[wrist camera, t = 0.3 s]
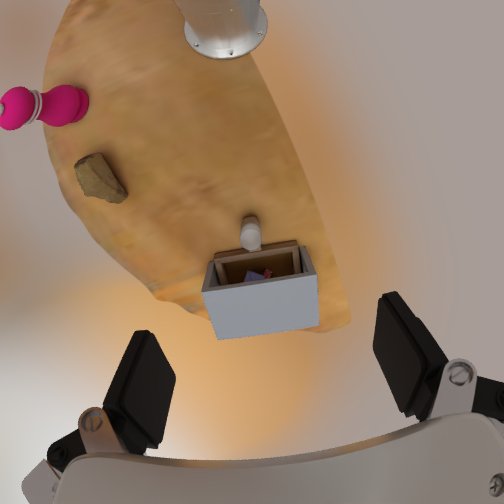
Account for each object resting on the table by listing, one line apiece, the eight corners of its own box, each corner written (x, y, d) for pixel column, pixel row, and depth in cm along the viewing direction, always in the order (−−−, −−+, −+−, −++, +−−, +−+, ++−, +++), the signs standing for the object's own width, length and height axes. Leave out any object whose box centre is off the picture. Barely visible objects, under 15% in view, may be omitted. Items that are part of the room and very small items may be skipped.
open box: (209, 261, 48) (201, 292, 39) (304, 246, 47) (316, 274, 38) (221, 306, 52) (217, 340, 44) (308, 292, 51) (319, 325, 43)
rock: (140, 203, 41) (124, 144, 35) (96, 228, 35) (74, 166, 30) (112, 196, 46) (98, 148, 41) (75, 217, 41) (58, 166, 35)
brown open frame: (206, 221, 44) (199, 239, 38) (291, 206, 43) (299, 222, 37) (229, 308, 52) (227, 333, 46) (301, 297, 51) (308, 321, 45)
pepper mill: (89, 80, 32) (8, 71, 15) (93, 117, 36) (11, 125, 18) (59, 95, 33) (-21, 99, 15) (63, 130, 36) (-17, 148, 18)
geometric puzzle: (255, 252, 45) (243, 298, 41) (292, 266, 46) (284, 311, 42) (242, 268, 51) (232, 307, 47) (276, 279, 52) (267, 319, 49)
